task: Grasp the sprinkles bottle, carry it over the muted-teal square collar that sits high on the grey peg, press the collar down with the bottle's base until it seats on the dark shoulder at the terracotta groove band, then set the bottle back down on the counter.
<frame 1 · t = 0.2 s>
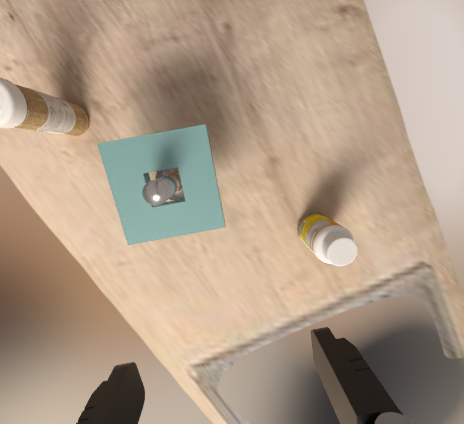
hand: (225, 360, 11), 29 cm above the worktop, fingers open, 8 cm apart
sprinkles bottle: (75, 120, 35), on the worktop
supplement bottle: (312, 227, 40), on the worktop
collar: (166, 186, 28), point 9 cm above the worktop, slide at 5.5 cm
grey peg: (179, 178, 37), on the worktop
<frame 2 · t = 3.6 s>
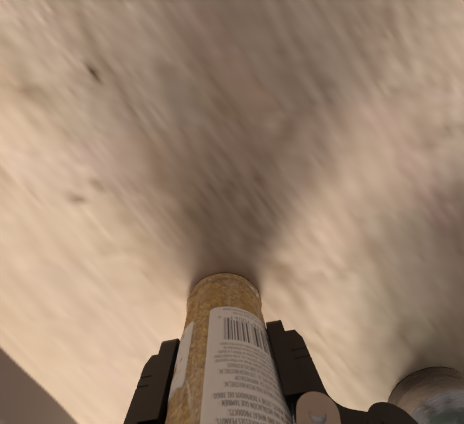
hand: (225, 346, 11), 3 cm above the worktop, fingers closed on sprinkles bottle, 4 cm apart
sprinkles bottle: (225, 301, 15), on the worktop, touching gripper
grey peg: (428, 400, 17), on the worktop
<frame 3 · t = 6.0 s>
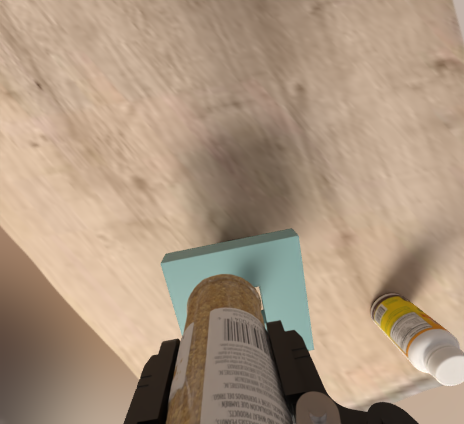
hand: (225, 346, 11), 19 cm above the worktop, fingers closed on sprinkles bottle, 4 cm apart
sprinkles bottle: (225, 302, 15), point 16 cm above the worktop, touching gripper
supplement bottle: (386, 307, 34), on the worktop
collar: (241, 302, 23), point 9 cm above the worktop, slide at 5.5 cm
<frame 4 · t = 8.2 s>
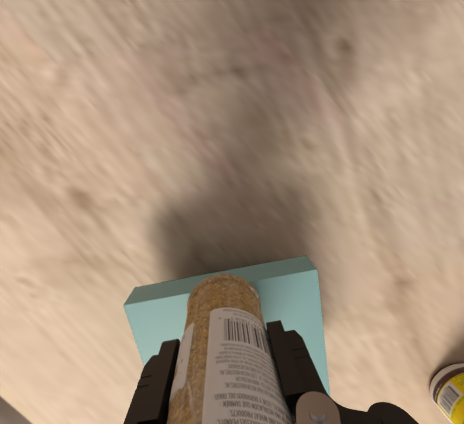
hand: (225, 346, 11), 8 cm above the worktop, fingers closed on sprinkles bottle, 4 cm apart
sprinkles bottle: (224, 302, 15), point 5 cm above the worktop, touching collar, gripper
supplement bottle: (451, 380, 24), on the worktop
collar: (236, 353, 17), point 4 cm above the worktop, slide at 0.4 cm, touching sprinkles bottle
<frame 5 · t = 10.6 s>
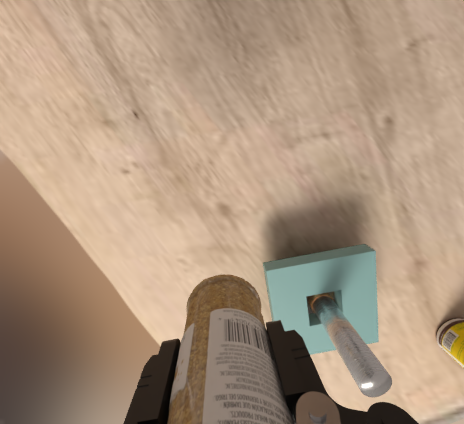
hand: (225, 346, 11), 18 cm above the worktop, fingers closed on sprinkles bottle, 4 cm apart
sprinkles bottle: (224, 302, 15), point 15 cm above the worktop, touching gripper
supplement bottle: (451, 331, 35), on the worktop
collar: (321, 303, 28), point 4 cm above the worktop, slide at 0.3 cm
grey peg: (309, 285, 32), on the worktop
when the fingers open (5 cm above the worktop, at t = 12.9 s): sprinkles bottle drops 1 cm, on the worktop.
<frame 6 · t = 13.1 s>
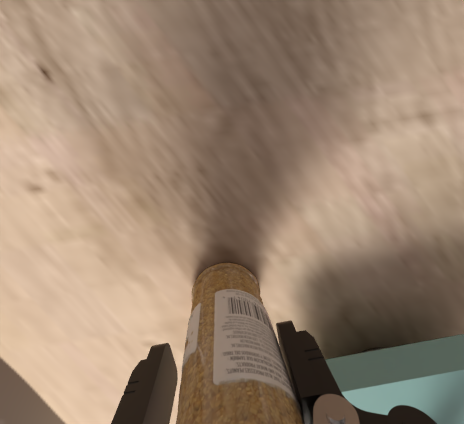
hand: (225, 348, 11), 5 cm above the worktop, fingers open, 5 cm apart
sprinkles bottle: (226, 289, 16), on the worktop, touching gripper
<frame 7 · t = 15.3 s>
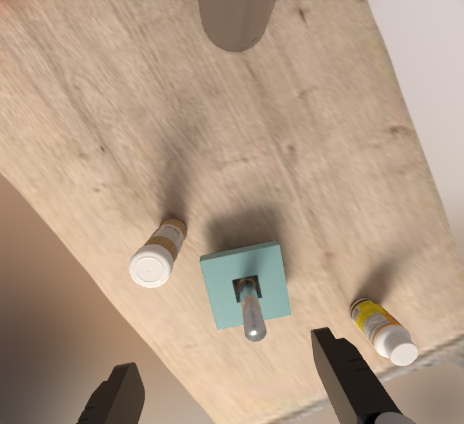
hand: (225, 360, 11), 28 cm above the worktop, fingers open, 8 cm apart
sprinkles bottle: (173, 230, 39), on the worktop
supplement bottle: (362, 309, 44), on the worktop
collar: (246, 285, 37), point 4 cm above the worktop, slide at 0.3 cm
grey peg: (244, 273, 41), on the worktop
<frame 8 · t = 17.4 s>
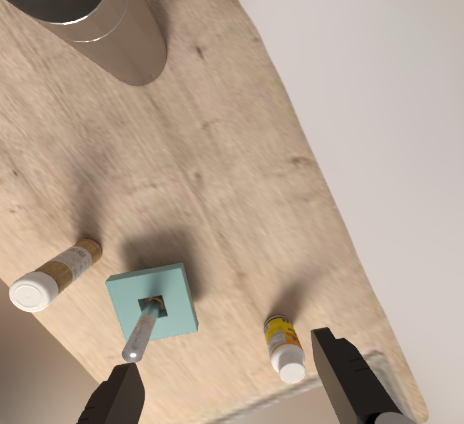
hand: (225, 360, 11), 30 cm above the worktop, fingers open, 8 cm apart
sprinkles bottle: (90, 250, 41), on the worktop
supplement bottle: (277, 325, 46), on the worktop
collar: (154, 304, 39), point 4 cm above the worktop, slide at 0.3 cm
grey peg: (160, 291, 43), on the worktop
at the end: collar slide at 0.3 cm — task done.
